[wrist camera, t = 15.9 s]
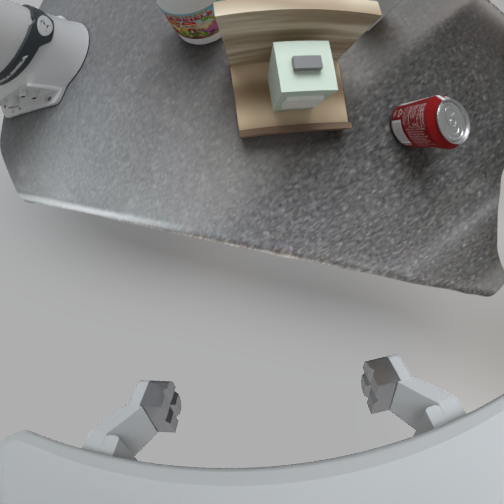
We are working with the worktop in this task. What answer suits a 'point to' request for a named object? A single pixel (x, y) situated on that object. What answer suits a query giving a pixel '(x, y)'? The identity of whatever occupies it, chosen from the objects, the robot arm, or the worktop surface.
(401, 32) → the worktop surface
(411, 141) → the soda can
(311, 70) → the mint juice carton
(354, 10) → the board
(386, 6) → the skincare box
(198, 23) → the milk bottle
